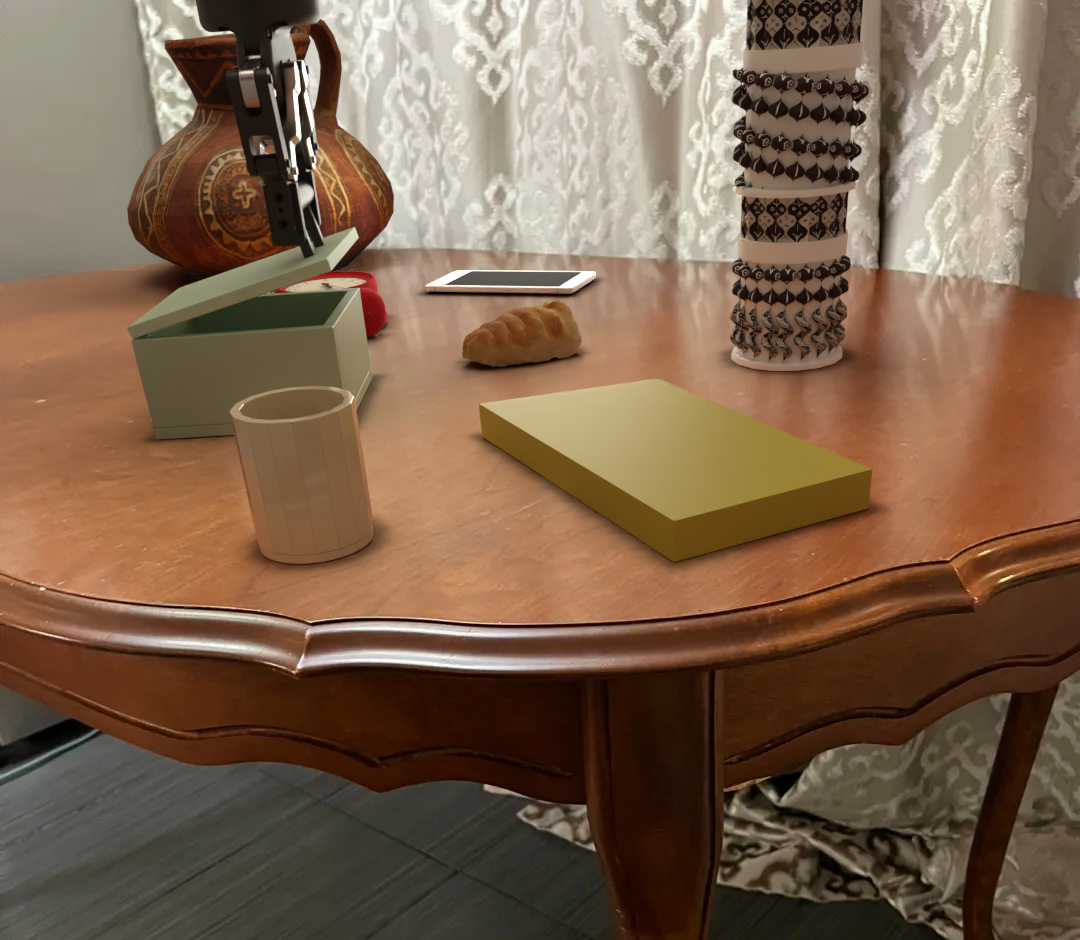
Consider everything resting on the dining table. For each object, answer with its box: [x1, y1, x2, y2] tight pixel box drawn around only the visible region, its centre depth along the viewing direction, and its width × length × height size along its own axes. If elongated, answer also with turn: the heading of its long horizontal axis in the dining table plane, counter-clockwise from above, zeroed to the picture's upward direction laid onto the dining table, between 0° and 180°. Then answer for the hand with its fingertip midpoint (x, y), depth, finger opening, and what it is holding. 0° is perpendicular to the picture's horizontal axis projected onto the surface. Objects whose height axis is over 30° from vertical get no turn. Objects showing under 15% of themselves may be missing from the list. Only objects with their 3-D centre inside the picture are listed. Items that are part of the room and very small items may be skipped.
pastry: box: [461, 299, 583, 368], centre depth 90 cm, size 9×7×4 cm
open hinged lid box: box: [131, 288, 373, 441], centre depth 81 cm, size 14×13×7 cm
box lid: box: [126, 179, 359, 340], centre depth 77 cm, size 14×13×5 cm
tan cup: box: [230, 386, 375, 565], centre depth 59 cm, size 6×6×8 cm
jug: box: [126, 18, 395, 279], centre depth 125 cm, size 30×30×25 cm
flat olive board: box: [478, 378, 873, 563], centre depth 66 cm, size 12×2×24 cm
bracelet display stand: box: [729, 0, 870, 372], centre depth 79 cm, size 9×9×25 cm
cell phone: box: [425, 269, 597, 295], centre depth 114 cm, size 8×16×1 cm, turn 69°
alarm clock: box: [274, 270, 389, 339], centre depth 101 cm, size 10×6×15 cm
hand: (298, 236), depth 77 cm, fingers closed on box lid, 5 cm apart
